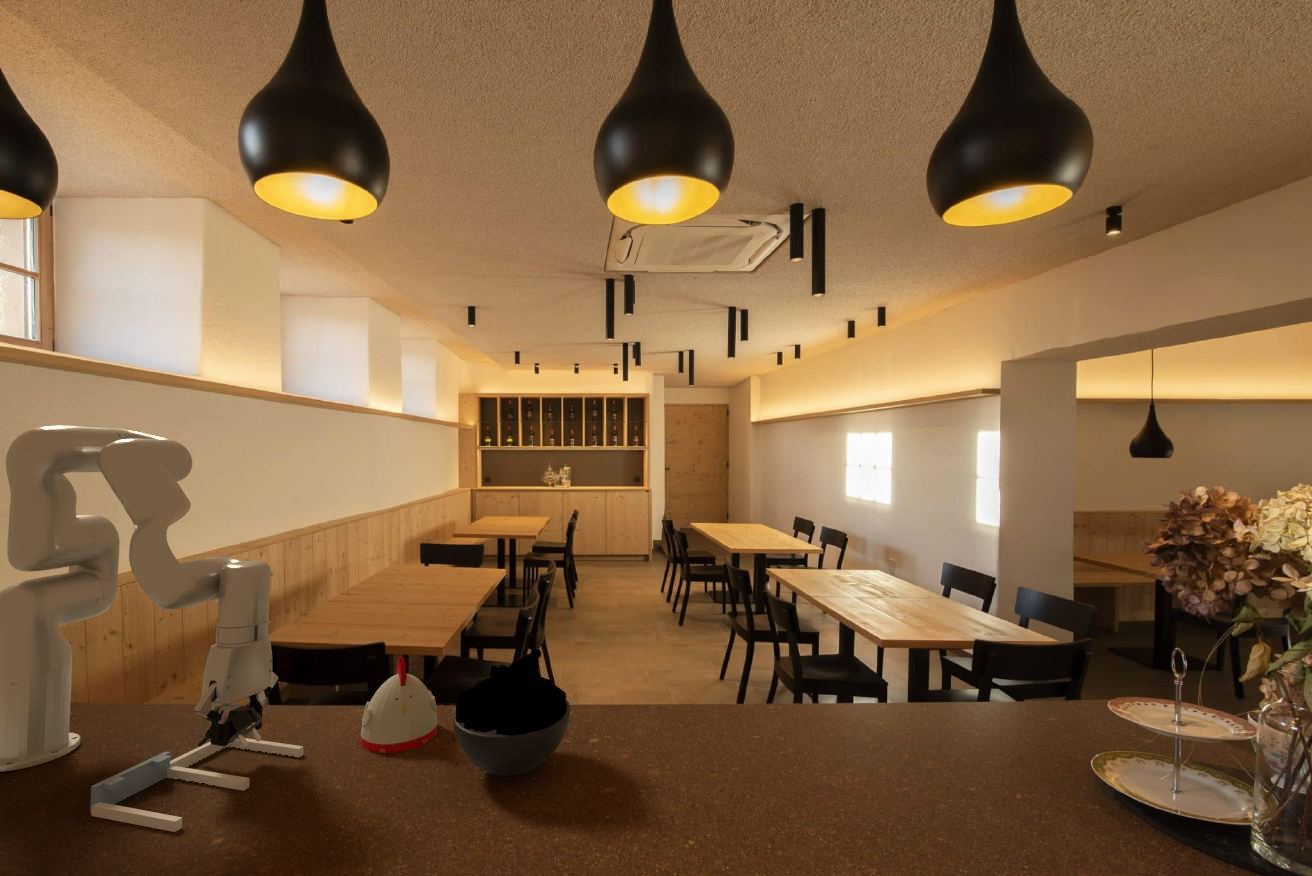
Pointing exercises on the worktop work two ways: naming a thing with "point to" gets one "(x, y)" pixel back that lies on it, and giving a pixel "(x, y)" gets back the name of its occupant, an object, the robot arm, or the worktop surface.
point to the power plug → (240, 725)
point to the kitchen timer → (399, 714)
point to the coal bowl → (511, 719)
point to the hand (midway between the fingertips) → (236, 735)
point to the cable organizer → (164, 767)
